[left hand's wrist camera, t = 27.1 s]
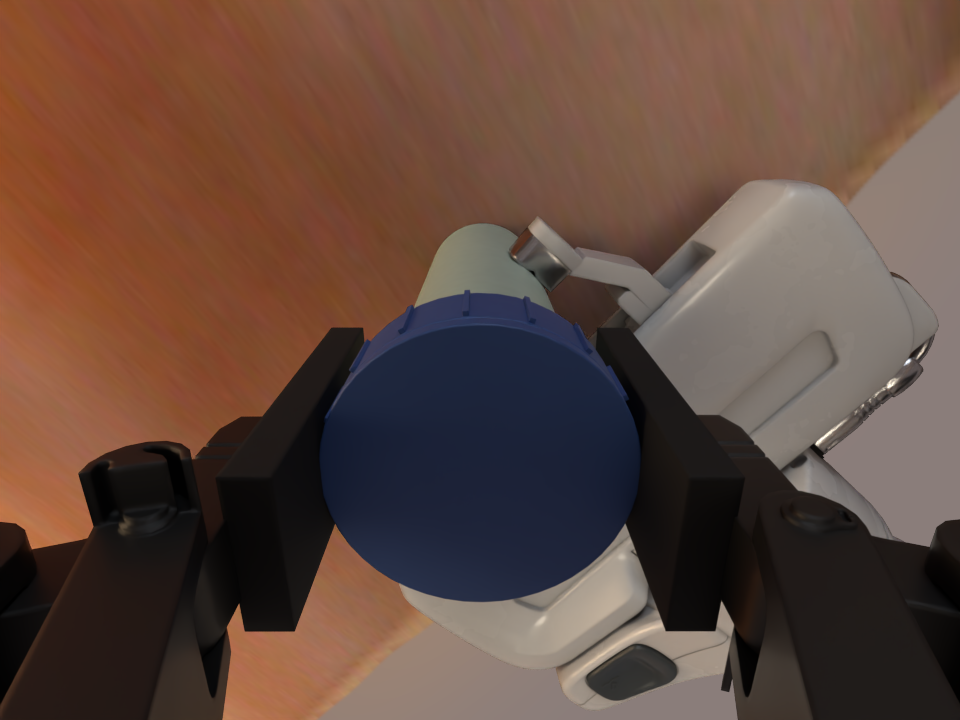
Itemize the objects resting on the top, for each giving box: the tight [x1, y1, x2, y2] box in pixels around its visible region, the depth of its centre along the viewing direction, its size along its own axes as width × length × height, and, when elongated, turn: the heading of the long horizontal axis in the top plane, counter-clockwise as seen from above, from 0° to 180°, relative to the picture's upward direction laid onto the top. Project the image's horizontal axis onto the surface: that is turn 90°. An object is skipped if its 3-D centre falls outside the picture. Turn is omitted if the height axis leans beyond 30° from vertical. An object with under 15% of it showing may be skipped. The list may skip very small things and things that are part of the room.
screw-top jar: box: [414, 223, 555, 313], centre depth 19 cm, size 5×5×15 cm
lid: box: [319, 290, 641, 602], centre depth 11 cm, size 6×6×2 cm
